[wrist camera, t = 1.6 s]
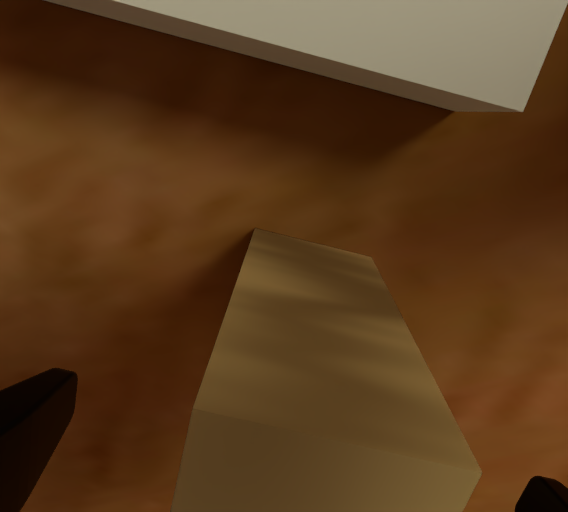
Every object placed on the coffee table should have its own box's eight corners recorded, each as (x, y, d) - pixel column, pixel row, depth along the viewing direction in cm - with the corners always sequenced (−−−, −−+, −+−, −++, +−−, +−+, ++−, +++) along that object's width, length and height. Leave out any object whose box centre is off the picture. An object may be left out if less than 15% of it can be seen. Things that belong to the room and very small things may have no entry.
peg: (371, 256, 14) (482, 473, 6) (337, 357, 16) (387, 655, 7) (254, 228, 14) (192, 407, 6) (230, 332, 15) (149, 608, 7)
